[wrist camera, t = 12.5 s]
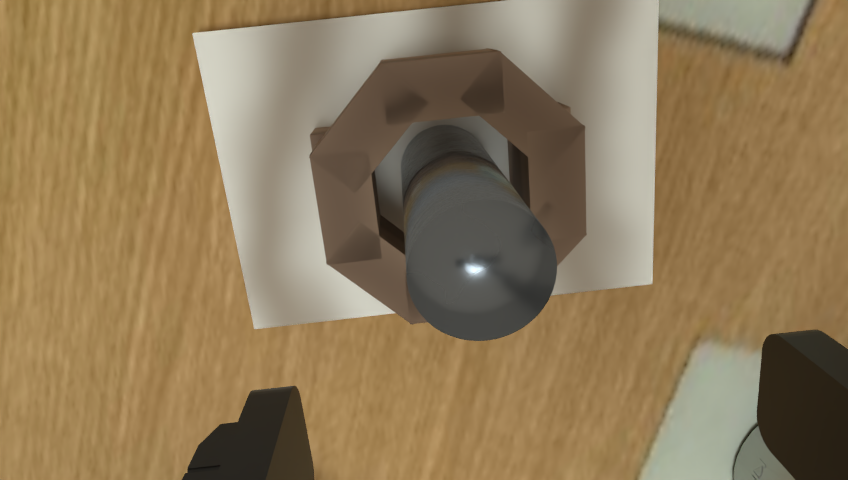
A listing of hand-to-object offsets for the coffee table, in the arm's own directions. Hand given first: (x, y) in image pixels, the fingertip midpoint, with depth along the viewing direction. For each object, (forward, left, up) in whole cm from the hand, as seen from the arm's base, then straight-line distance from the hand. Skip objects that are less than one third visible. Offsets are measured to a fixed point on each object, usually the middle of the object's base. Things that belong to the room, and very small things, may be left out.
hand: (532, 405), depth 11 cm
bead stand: (0, 0, -20) cm, 20 cm away
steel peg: (0, 0, -19) cm, 19 cm away
